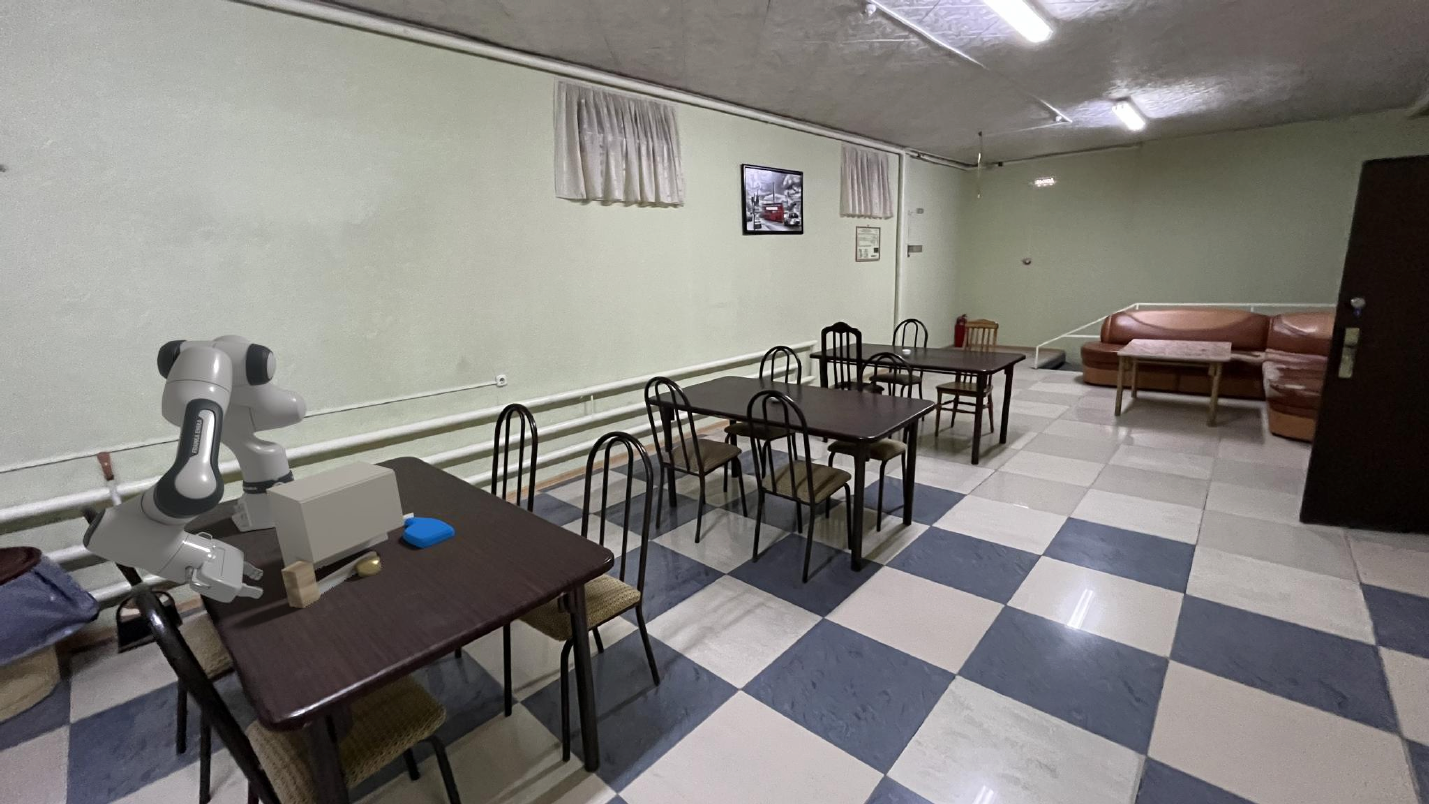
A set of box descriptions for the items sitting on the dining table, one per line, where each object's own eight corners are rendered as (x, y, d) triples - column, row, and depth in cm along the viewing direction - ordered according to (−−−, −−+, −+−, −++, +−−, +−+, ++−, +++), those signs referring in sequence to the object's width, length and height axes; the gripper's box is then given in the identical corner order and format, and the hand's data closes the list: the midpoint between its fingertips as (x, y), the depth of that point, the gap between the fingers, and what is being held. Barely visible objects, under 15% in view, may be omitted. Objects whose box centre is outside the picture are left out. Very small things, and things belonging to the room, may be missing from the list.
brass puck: (353, 575, 139) (351, 564, 138) (372, 565, 143) (370, 554, 142) (367, 578, 137) (364, 567, 136) (386, 568, 141) (384, 557, 140)
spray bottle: (457, 526, 157) (417, 506, 172) (417, 542, 149) (379, 519, 164) (459, 536, 158) (419, 515, 173) (419, 552, 149) (381, 529, 164)
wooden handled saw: (290, 606, 126) (281, 570, 124) (368, 559, 146) (362, 527, 144) (303, 608, 125) (295, 572, 123) (381, 560, 145) (374, 528, 143)
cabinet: (286, 570, 142) (266, 489, 136) (374, 533, 160) (359, 460, 155) (319, 587, 133) (299, 501, 128) (408, 546, 152) (394, 469, 146)
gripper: (195, 565, 106) (272, 592, 114) (204, 529, 122) (271, 554, 130) (170, 595, 105) (249, 620, 113) (182, 554, 120) (251, 578, 128)
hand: (261, 584), depth 122 cm, fingers open, 8 cm apart
